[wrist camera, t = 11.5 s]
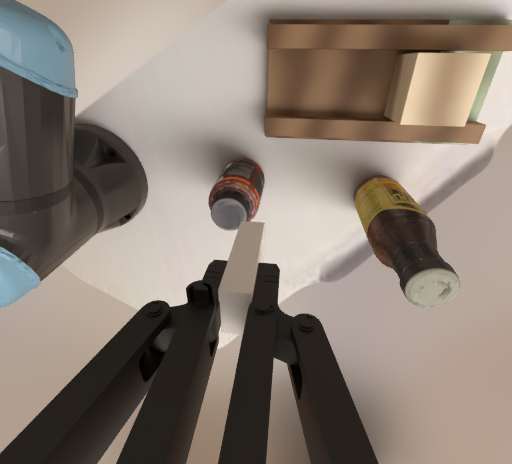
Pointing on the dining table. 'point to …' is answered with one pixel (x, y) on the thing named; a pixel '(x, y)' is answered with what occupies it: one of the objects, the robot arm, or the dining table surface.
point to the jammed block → (435, 88)
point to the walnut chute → (366, 76)
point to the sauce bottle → (405, 241)
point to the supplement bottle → (236, 194)
